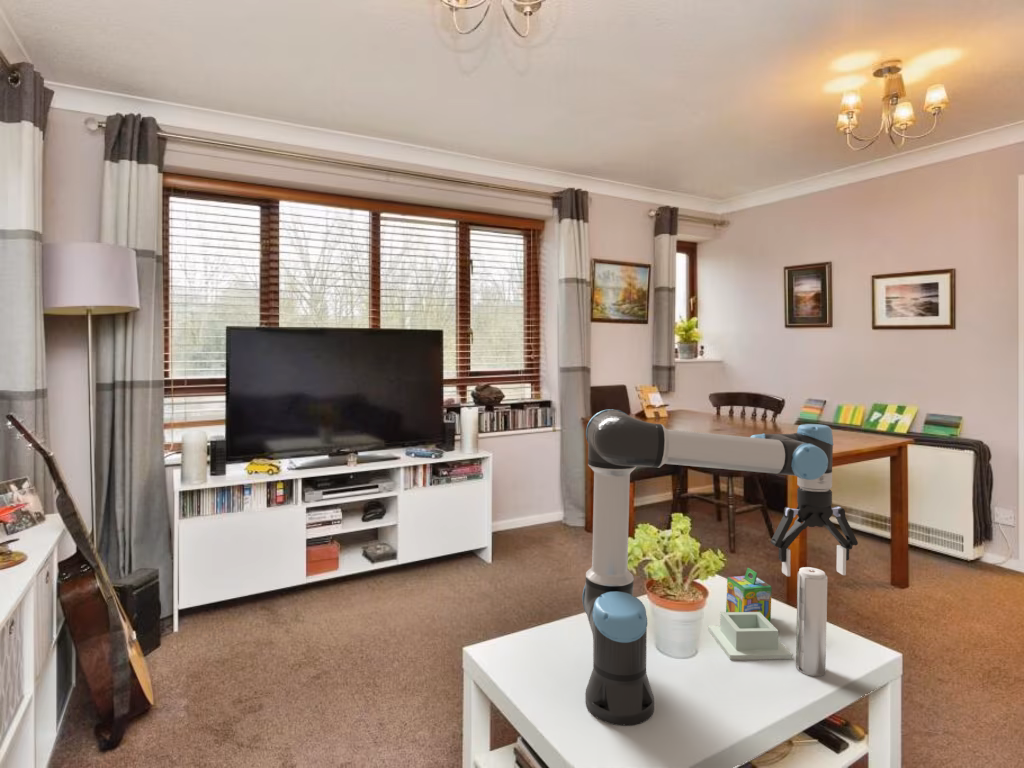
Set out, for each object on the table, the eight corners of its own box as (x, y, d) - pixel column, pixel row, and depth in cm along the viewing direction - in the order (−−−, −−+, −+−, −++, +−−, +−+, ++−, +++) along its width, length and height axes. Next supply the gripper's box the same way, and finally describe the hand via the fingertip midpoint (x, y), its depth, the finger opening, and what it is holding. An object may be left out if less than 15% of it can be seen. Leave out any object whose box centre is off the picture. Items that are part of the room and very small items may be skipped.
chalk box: (725, 614, 173) (725, 565, 173) (752, 611, 175) (753, 563, 174) (743, 628, 164) (744, 577, 164) (772, 625, 166) (773, 575, 165)
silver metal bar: (829, 678, 139) (831, 576, 138) (800, 675, 140) (802, 574, 139) (820, 664, 145) (822, 566, 144) (792, 661, 147) (794, 564, 145)
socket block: (730, 659, 148) (730, 636, 147) (708, 629, 164) (708, 608, 163) (792, 659, 148) (792, 635, 147) (764, 629, 164) (764, 607, 163)
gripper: (770, 492, 136) (770, 580, 138) (875, 490, 137) (873, 578, 138) (756, 485, 144) (756, 569, 145) (855, 483, 144) (854, 566, 145)
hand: (813, 573), depth 142 cm, fingers open, 13 cm apart
